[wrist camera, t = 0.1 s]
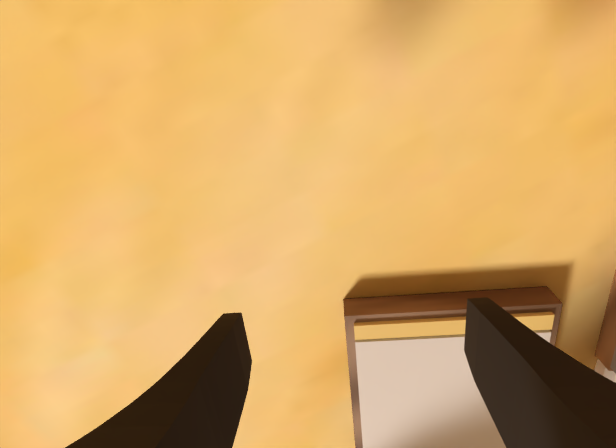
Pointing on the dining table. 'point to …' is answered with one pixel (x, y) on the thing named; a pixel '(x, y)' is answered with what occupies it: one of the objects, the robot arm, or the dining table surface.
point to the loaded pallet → (608, 333)
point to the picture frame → (427, 366)
